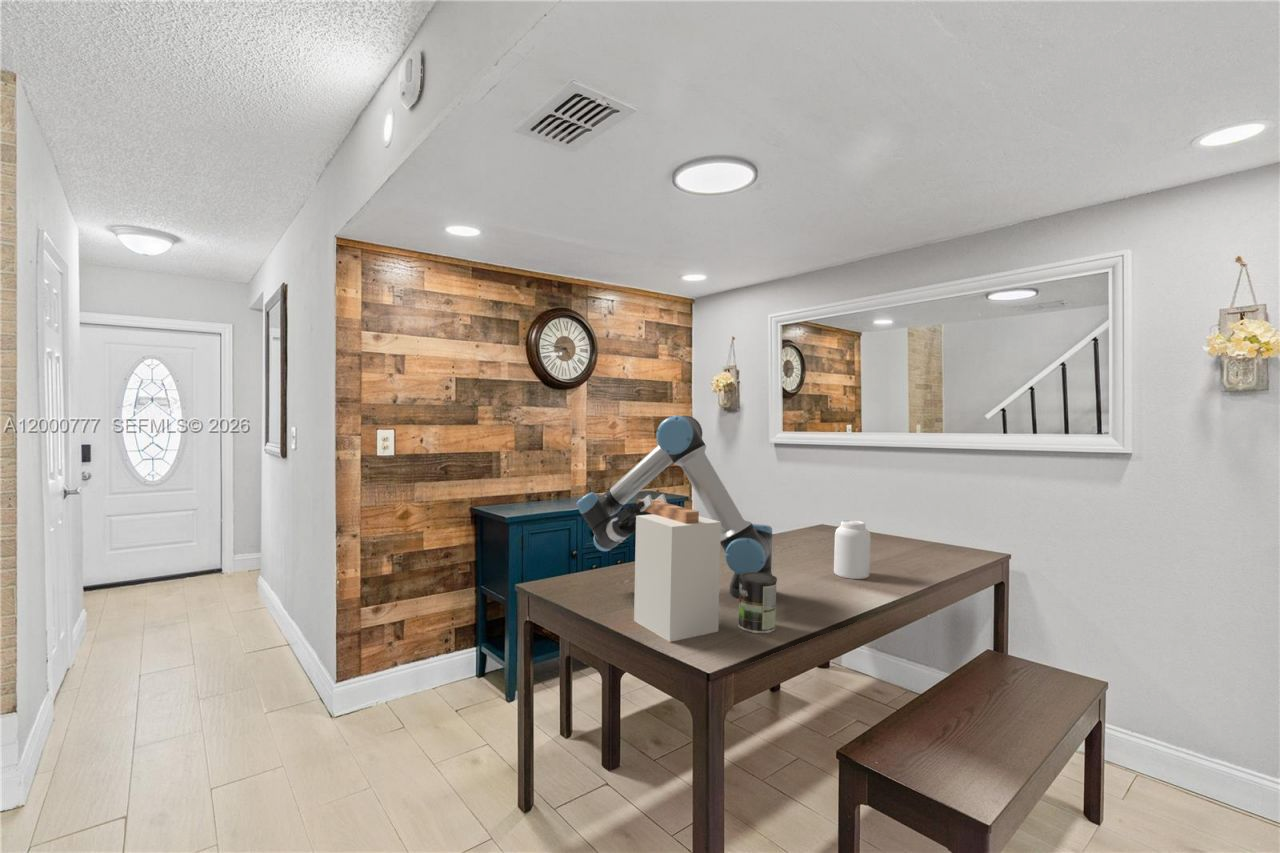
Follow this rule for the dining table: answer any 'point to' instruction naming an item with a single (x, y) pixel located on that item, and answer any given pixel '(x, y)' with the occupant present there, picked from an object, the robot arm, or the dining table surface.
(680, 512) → the bar
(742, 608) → the coffee can
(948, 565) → the dining table surface
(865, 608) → the dining table surface
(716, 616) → the pedestal
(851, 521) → the white jar
